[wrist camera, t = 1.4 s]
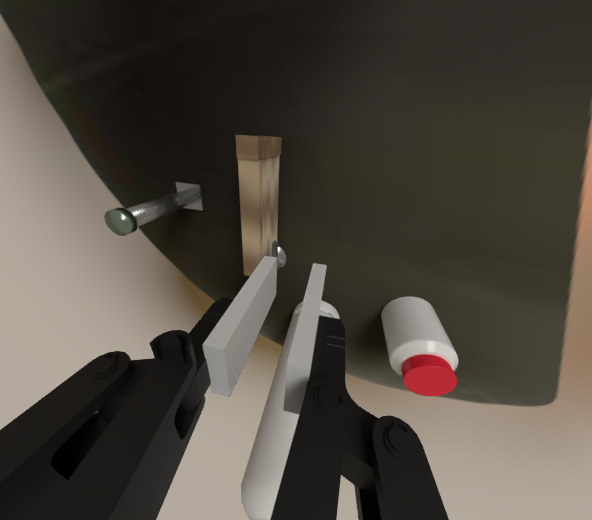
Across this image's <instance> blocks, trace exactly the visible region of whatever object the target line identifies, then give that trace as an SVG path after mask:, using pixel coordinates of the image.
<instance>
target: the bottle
mask: <svg viewBox="0 0 592 520" xmlns="http://www.w3.org/2000/svg"><path fill="white" fill-rule="evenodd" d="M302 305H303V302H301V303H300V304H299V305H297V306H296V308H295V310H294V312H293V316H292V320H291V322H290V326H289V329H288V332H287V336H286V339H285V342H284V345H283V349H282V352H281V355H280V359H279V362H278V365H277V369H276V372H275V375H274V379H273V382H272V385H271V389H270V392H269V395H268V398H267V402H266V405H265V409H264V412H263V415H262V418H261V422H260V425H259V428H258V432H257V435H256V438H255V442H254V445H253V448H252V451H251V455H250V458H249V462H248V464H247V468H246V471H245V474H244V478H243V481H242V484H241V488H242V489H241V493H242V494H241V497H242V503H243V506H244V509H245V512H246V514H247V515H248V517H249V519H250V520H270V519H271V515H272V512H273V508H274V504H275V501H276V497H277V494H278V490H279V486H280V483H281V479H282V476H283V472H284V468H285V465H286V461H287V457H288V454H289V450H290V447H291V443H292V439H293V436H294V432H295V429H296V425H297V421H298V418H299V414H295V413H291V412H287V411H283V408H284V395H285V382H286V369H287V362H288V358H289V354H290V350H291V346H292V343H293V339H294V335H295V331H296V327H297V324H298V320H299V316H300V312H301V311H300V310H301V308H302ZM329 313H330V314H331V315H332V316H333V317H334V318H337V319H339V314H338V312H337V311H336V309H335V308H334V307H333V306H331V305H330V304H328V303H326V302H324V301H321V305H320V312H319V315H321V316H326V317H332V316H331V315H330V314H329ZM333 317H332V318H333Z"/></svg>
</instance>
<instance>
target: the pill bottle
mask: <svg viewBox="0 0 592 520" xmlns="http://www.w3.org/2000/svg"><path fill="white" fill-rule="evenodd" d="M381 320H382V325H383V330H384V335H385V340H386V346H387V351H388V356H389V361H390V364H391V367H392V368H393V370H394V371H395V372H396V373H397V374H398V375H400V376H401V377H403V381H404V384H405V386H406V387H407V388H408V389H409V390H410V391H412V392H414V393H416V394H419V395H424V396H439V395H443V394H446V393H448V392H450V391H452V390H453V389H454V388H455V386H456V384H457V379H456V376H455V374H454V371H455V370H456V368H457V366H458V356H457V354H456V352H455V350H454V348H453V346H452V344H451V342H450V340H449V338H448V336H447V334H446V332H445V330H444V328H443V326H442V324H441V322H440V320H439V318H438V317H437V315H436V313H435V311H434V309H433V307H432V306H431V304H430V303H428V302H427V301H425V300H423V299H421V298H418V297H411V296H410V297H400V298H397V299H394V300H392V301H391V302H389V303H388V304H387V305H386V306H385V307H384V308H383V310H382V313H381Z"/></svg>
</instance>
